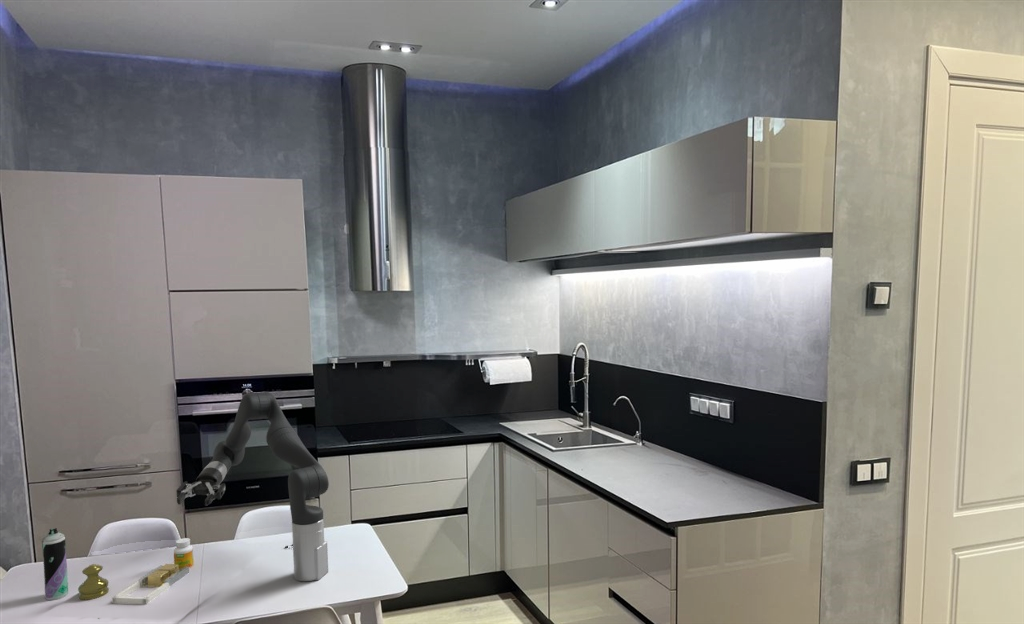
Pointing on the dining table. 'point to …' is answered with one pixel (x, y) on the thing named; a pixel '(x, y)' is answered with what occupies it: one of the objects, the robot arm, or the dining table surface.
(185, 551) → the supplement bottle
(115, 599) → the tray
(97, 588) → the gold metal knob shape
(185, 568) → the rail
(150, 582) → the tan block
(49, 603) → the dining table surface
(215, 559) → the dining table surface
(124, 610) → the dining table surface
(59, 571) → the spray can
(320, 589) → the dining table surface
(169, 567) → the chip
